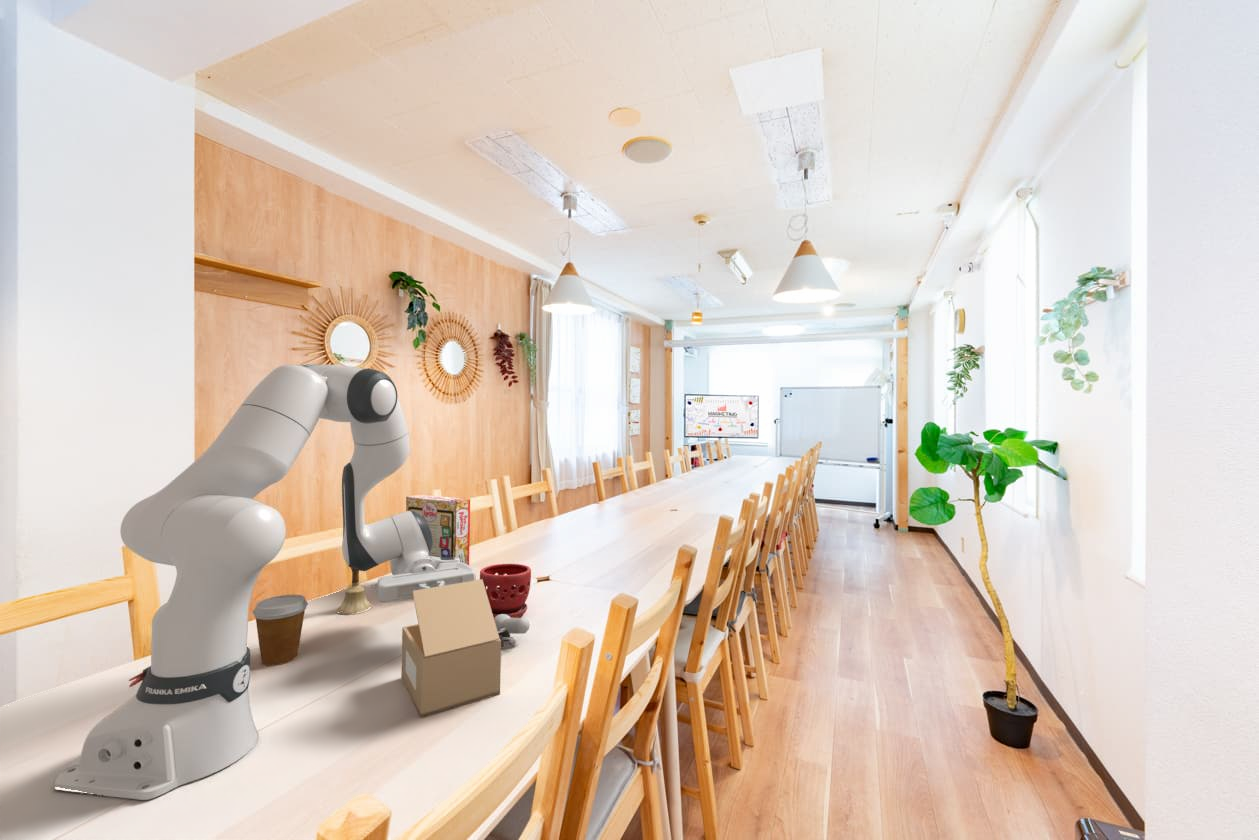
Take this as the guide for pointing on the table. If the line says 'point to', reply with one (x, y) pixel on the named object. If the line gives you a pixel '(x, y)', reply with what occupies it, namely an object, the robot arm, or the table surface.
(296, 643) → the disposable coffee cup
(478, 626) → the carton flap
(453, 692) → the carton
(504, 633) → the clip-on lamp
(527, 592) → the plant pot
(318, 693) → the table surface
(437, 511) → the board game box
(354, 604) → the hand bell
